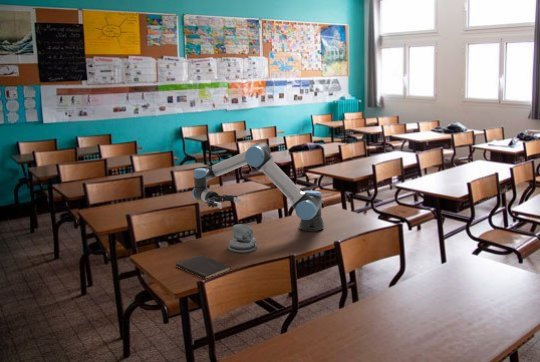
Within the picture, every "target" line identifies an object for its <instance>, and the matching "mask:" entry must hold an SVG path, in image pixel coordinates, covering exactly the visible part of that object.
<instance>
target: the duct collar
mask: <svg viewBox="0 0 540 362" xmlns="http://www.w3.org/2000/svg"><path fill="white" fill-rule="evenodd" d="M227 249H228V251H229V252H231V253H234V254H235V253H237V254H249V253H252V252H255V251H256V250H257V249H258V243H256V238H255V237H254V236H253V239H252V240H251V241H250V242H245V241H241V240H238V239H236V238H234V237H233V236H232V237H231V238H230V239H229V244H228V245H227Z"/></svg>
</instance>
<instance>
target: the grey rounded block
mask: <svg viewBox="0 0 540 362" xmlns="http://www.w3.org/2000/svg"><path fill="white" fill-rule="evenodd" d="M231 234H232V237H234V238H236V239H238V240H241V241H245V242H250V241H251V240H252V239H253V237H254V231H253V229H252V228H251V227H250V226H248V225H247V224H242V223H237V224H234V225H233V226H232V228H231Z"/></svg>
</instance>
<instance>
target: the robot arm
mask: <svg viewBox="0 0 540 362" xmlns="http://www.w3.org/2000/svg"><path fill="white" fill-rule="evenodd" d="M246 165H249V166H250V167H253V168H255V169H256V170H257V171H258V172H262V173H263V174H264V175H265V176H266V177H267V178H268V179H269V180H270V181H271V182H272V183H273V185H275V186H276V188H278V190H279V191H280V192H281V193H282V194H283V196H285V197H286V198H287V199H288V200H289V202H290V206H291V207H292V208H293V210H295V212H294V213H295V214H296V216H297V217H298V218H299V219H300V221H299V223H298V228H299V230H301V229H302V230H301V231H303V230H305V231H304V232H308V231H316V232H319V231H318V230H321V229H323V228H324V229H325V224H324V220H323V217H322V204H323V203H322V202H323V201H322V199H323V197H322V192H321V191H318V190H304V191H302V190H301V188H299V187H298V186H297V185H296V183H294V181H293V180H292V179H291V178H290V177H289V176H288V175H287V174H286V173H285V172H284V171H283V170H282V169H281V167H279V166H278V164H276V163H275V161H274V157H273V156H272V155H271V148H270V146H269V145H268V143H265V142H262V141H261V142H260V141H259V142H257V143H255V144H253V145H251V146H249V147H248V148H247V150H245V151H242V152H241V153H239V154H236V155H234V156H231V157H229V158H227V159H224V160H222V161H220V162H218V163H215V164H213V165H211V166H208V167H205V168H203V167H200V168H199V167H198V168H195V169H194V170H193V181H194V188H192V191H191V196H192V197H193V199H195V200H197V201H202V202H204V203H205V204H207V207H208V208H210V207H211V208H212V209H214V208H218V209H220V210H221V209H223V206H222V205H223V204H222V203H224V202H233V203H236V204H240V205H241V204H242V198H239V197H238V196H239V195H229V194H222V195H220V194H219V193H218V192H217V191H214V190H210V189H208V181H210V180H212V179H215V178H217V177H219V176H222V175H225V174H227V173H229V172H232V171H234V170H236V169H239V168H241V167H244V166H246ZM324 229H323V230H324ZM321 231H322V230H321Z"/></svg>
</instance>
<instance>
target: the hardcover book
mask: <svg viewBox="0 0 540 362" xmlns="http://www.w3.org/2000/svg"><path fill="white" fill-rule="evenodd" d="M176 266H178V267H180V268H182V269H184V270H183V271H185V270H187V271H189V272H191V273H193V274H192V275H194V274H196V275H198V276H200V277H202V278H201V279H203V278H205V279H206V278H208V279H210V278H212V277H211V276H213V277H215V276H217V275H220V274H223V273H225V272H228V271H230V268H231V266H230V265H227V264H226V263H223V262H220V261H218V260H214V259H212V258H211V257H207V256H205V255H203V254H199V255H196V256H193V257H189V258H187V259H185V260H181V261H178V262H177V263H175V267H176ZM178 267H177V268H178ZM180 268H179V269H180ZM182 269H181V270H182ZM187 271H186V272H187ZM189 272H188V273H189ZM191 273H190V274H191ZM196 275H195V276H196ZM198 276H197V277H198ZM200 277H199V278H200ZM209 277H210V278H209ZM205 279H204V280H205ZM206 280H207V279H206Z"/></svg>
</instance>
